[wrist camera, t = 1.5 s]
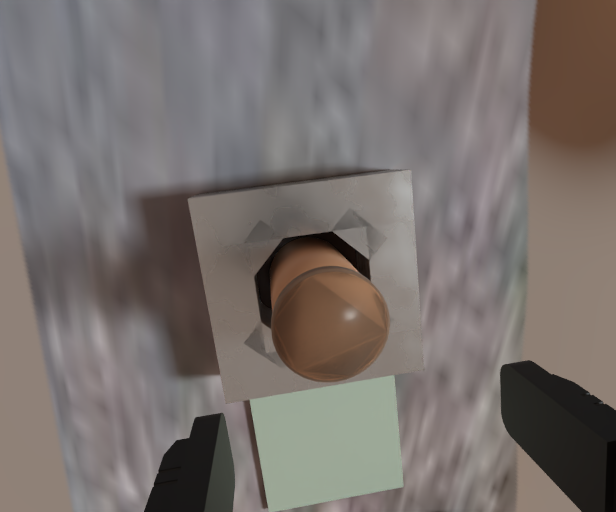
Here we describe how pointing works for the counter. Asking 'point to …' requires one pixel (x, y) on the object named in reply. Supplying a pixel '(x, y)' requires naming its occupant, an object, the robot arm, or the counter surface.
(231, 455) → the robot arm
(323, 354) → the tan rounded cylinder
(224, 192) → the housing
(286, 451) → the mat
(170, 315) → the counter surface
